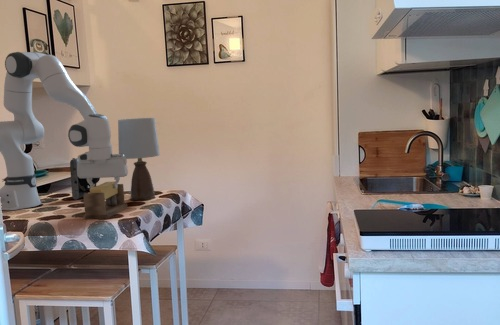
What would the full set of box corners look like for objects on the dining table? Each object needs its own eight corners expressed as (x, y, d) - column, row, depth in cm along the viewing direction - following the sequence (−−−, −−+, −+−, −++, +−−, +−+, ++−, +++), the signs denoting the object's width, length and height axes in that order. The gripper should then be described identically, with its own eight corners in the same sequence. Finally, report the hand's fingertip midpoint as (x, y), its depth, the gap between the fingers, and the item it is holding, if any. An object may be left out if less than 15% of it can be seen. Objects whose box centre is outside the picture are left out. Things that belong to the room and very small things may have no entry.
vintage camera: (101, 200, 220) (99, 158, 218) (71, 199, 223) (69, 158, 221) (110, 196, 230) (109, 156, 227) (82, 195, 232) (80, 156, 230)
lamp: (153, 201, 208) (147, 118, 204) (115, 201, 212) (108, 120, 208) (168, 193, 226) (163, 117, 222) (133, 193, 230) (127, 118, 226)
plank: (90, 201, 182) (89, 188, 181) (107, 193, 198) (106, 181, 197) (101, 201, 181) (100, 188, 181) (117, 193, 197) (116, 181, 197)
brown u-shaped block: (83, 219, 181) (80, 193, 180) (105, 207, 201) (103, 184, 200) (107, 218, 180) (105, 193, 178) (127, 206, 200) (125, 183, 199)
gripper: (128, 152, 189) (131, 186, 191) (80, 154, 192) (84, 187, 193) (122, 154, 183) (125, 189, 185) (73, 156, 185) (76, 190, 187)
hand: (104, 188), depth 189 cm, fingers open, 8 cm apart
